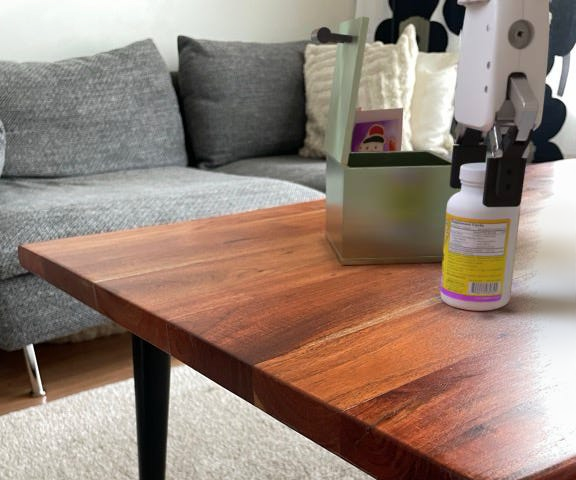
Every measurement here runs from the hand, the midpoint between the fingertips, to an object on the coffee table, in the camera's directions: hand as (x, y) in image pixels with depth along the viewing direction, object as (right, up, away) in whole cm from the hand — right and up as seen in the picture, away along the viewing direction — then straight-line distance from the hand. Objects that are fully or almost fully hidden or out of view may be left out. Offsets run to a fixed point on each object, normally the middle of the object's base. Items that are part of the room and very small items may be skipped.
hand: (482, 196), depth 66 cm
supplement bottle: (0, -9, +5) cm, 10 cm away
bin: (-5, 0, +24) cm, 25 cm away
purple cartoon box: (-7, +8, +43) cm, 45 cm away
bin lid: (-11, +16, +16) cm, 25 cm away
